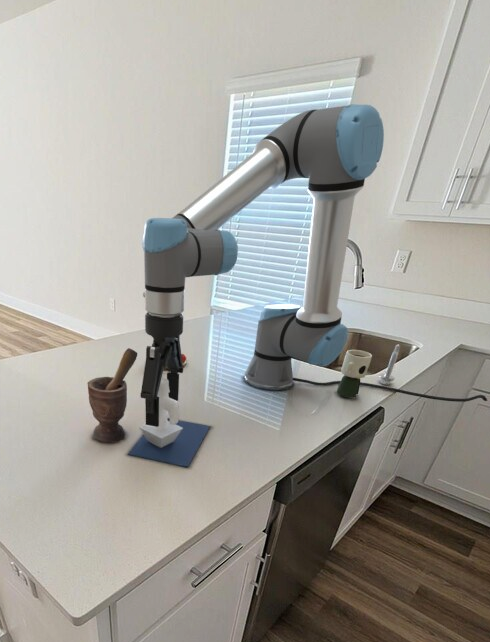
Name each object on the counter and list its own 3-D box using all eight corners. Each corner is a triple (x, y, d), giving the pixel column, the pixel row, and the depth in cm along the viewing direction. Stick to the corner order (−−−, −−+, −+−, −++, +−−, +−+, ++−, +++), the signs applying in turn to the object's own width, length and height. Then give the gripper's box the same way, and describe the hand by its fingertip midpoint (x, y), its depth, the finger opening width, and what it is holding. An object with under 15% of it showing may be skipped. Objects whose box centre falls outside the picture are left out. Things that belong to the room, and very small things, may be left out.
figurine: (164, 454, 90) (166, 391, 82) (135, 439, 95) (134, 378, 87) (185, 443, 95) (189, 382, 86) (157, 429, 100) (158, 370, 91)
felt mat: (209, 427, 103) (209, 426, 102) (187, 467, 87) (187, 466, 87) (158, 417, 106) (158, 416, 105) (127, 454, 90) (127, 453, 90)
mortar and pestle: (116, 419, 104) (112, 340, 92) (142, 429, 100) (142, 348, 88) (84, 436, 96) (76, 353, 84) (112, 448, 92) (107, 362, 80)
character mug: (349, 404, 119) (363, 360, 111) (327, 396, 122) (339, 353, 115) (365, 394, 125) (379, 352, 118) (343, 387, 129) (355, 346, 121)
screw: (378, 385, 132) (375, 379, 136) (393, 387, 131) (390, 381, 135) (392, 345, 125) (389, 340, 128) (409, 347, 124) (405, 342, 128)
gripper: (166, 298, 89) (165, 388, 101) (120, 326, 69) (125, 434, 82) (199, 301, 87) (193, 393, 100) (161, 332, 68) (159, 441, 80)
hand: (162, 411), depth 91 cm, fingers open, 13 cm apart
